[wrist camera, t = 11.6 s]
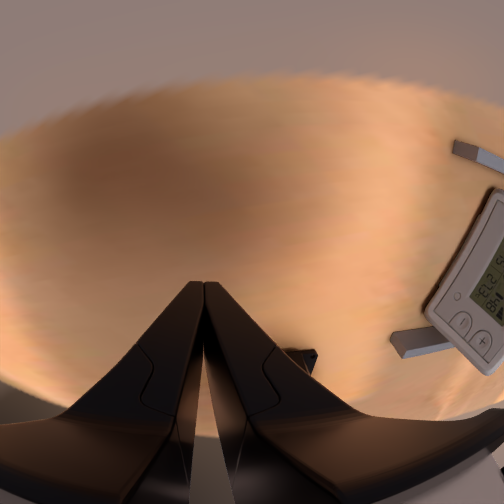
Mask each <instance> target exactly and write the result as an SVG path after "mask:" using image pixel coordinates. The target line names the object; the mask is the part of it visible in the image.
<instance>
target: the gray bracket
mask: <svg viewBox="0 0 504 504" xmlns="http://www.w3.org/2000/svg"><path fill="white" fill-rule="evenodd" d="M453 153H454V154H456V155H459V156H461V157H464V158H467V159H469V160H472V161H474V162H477V163H479V164H481V165H484V166H486V167H489V168H491V169H493V170H495V171H498V172H500V173H502V174H504V159H502V158H500V157H498V156H496V155H494V154H492V153H490V152H488V151H486V150H484V149H482V148H479V147H477V146H473V145H470V144H467V143H463V142H460V141H456V140H455V143H454V148H453ZM390 342H391V343H392V345H393V346H394V348H395V349H396V351H397V352H398V354H399V355H400V357H401V358H402V359H405V358H410V357H415V356H420V355H424V354H429V353H433V352H437V351H441V350H446V349H450V348H453V347H455V346H454V345H453V344H452V343H451V342H450V341H449V340H448V339H447V338H446V337H445V336H444V335H442V334H441V333H440V332H439V331H438V330H437V329H436V328H435V327H434V326H433V327H427V328H420V329H413V330H406V331H399V332H393V334H392V337H391V339H390Z"/></svg>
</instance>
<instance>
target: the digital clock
mask: <svg viewBox="0 0 504 504" xmlns="http://www.w3.org/2000/svg"><path fill="white" fill-rule="evenodd" d="M438 286H440V287H439V288H438V290H437V292H436V293H435V295H434V296H433V297H432V299H431V300H430V302H429V303H428V305H427V307H426V309H425V312H424V314H425V317H426V319H427V320H428V321H429V322H430V323H431V324H432V325H433V326H434V327H435V328H436V329H437V330H438V331H439V332H440V333H441V334H442V335H444V336H445V337H446V338H447V339H448V340H449V341H450V342H451V343H452V344H453V345H454V346H455V347H456V348H457V349H458V350H459V351H460V352H461V353H462V354H463V355H464V356H465V357H466V358H467V359H468V360H469V361H470V362H471V363H472V364H473V365H474V366H475V367H476V368H477V369H478V370H479V371H480V372H481V373H482V374H484V375H485V376H489V375H491V374H492V373H494V372H495V371H496V370H497V368H498V367H499V366H500V365H501V364H502V362H503V361H504V191H503V190H501V189H495V190H493V191H492V193H491V194H490V196H489V198H488V201H487V203H486V205H485V207H484V209H483V211H482V213H481V215H480V214H479V215H478V217H477V219H476V221H475V223H474V225H473V227H472V229H471V231H470V233H469V235H468V236H467V238H466V240H465V242H464V244H463V246H462V247H461V249H460V251H459V253H458V254H457V256H456V258H455V259H454V261H453V263H452V264H451V266H450V268H449V269H448V271H447V273H446V274H445V276H444V277H443V279H442V281H441V282H440V284H439V285H438Z"/></svg>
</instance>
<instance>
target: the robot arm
mask: <svg viewBox="0 0 504 504" xmlns="http://www.w3.org/2000/svg"><path fill="white" fill-rule="evenodd" d="M203 345H204V359H205V366H206V371H207V377H208V383H209V388H210V394H211V399H212V404H213V409H214V414H215V419H216V424H217V429H218V434H219V438H220V443H221V447H222V452H223V456H224V461H225V465H226V469H227V473H228V477H229V481H230V486H231V489H232V494H233V497H234V501H235V504H504V467H503V468H501V469H500V468H499V466H498V464H497V463H496V461H495V459H494V457H493V456H492V454H491V453H492V452H493V451H495V450H496V449H497V448H498V447H499V446H500V445H501V444H502V443H503V442H504V409H500V408H492V409H489V410H486V411H485V412H483V413H481V414H479V415H477V416H475V417H472V418H468V419H464V420H456V421H425V420H407V419H394V418H383V417H375V416H370V415H367V414H364V413H362V412H359V411H358V410H356V409H354V408H352V407H351V406H349V405H348V404H347V403H345V402H344V401H343V400H341V399H340V398H339V397H337V396H336V395H335V394H333V393H332V392H331V391H329V390H328V389H327V388H325V387H324V386H323V385H321V384H320V383H319V382H318V381H316V380H315V379H314V378H312V377H311V373H312V371H313V368H314V365H315V362H316V360H317V357H318V354H317V352H316V351H315V350H311V351H296V352H284V351H283V350H282V349H281V348H280V347H279V346H277V344H276V343H275V342H274V341H273V340H272V339H271V338H270V337H269V336H268V335H267V334H266V333H265V332H264V331H263V330H262V329H261V328H260V326H259V325H258V324H257V323H256V322H255V321H254V320H253V319H252V318H251V317H250V316H249V315H248V314H247V313H246V312H245V310H244V309H243V308H242V307H241V306H240V305H239V304H238V303H237V302H236V301H235V300H234V299H233V297H232V296H231V295H230V294H229V293H228V292H227V291H226V290H225V289H224V288H223V287H222V285H221V284H220V283H219V282H205V283H203V282H202V281H189V282H188V283H187V284H186V286H185V287H184V288H183V289H182V290H181V291H180V292H179V294H178V295H177V296H176V297H175V298H174V299H173V300H172V302H171V303H170V304H169V305H168V306H167V307H166V308H165V310H164V311H163V312H162V313H161V314H160V315H159V316H158V318H157V319H156V320H155V321H154V322H153V323H152V325H151V326H150V327H149V328H148V329H147V330H146V331H145V333H144V334H143V335H142V336H141V337H140V338H139V340H138V341H137V342H136V344H134V345H133V346H132V348H131V349H130V350H129V351H128V352H127V353H126V355H125V356H124V357H123V358H122V359H121V360H120V361H119V362H118V363H117V364H116V365H115V366H114V367H113V368H112V369H111V370H110V371H109V372H108V373H107V374H106V375H105V376H104V377H103V378H102V379H101V380H99V381H98V382H97V383H96V384H95V385H94V386H93V387H92V388H91V389H89V390H88V391H87V392H86V393H85V394H84V395H83V396H82V397H81V398H80V399H78V400H77V401H76V402H75V403H74V404H73V405H72V406H71V407H69V408H68V409H67V410H65V411H64V412H62V413H61V414H59V415H57V416H55V417H52V418H48V419H43V420H37V421H30V422H22V423H15V424H5V425H0V504H189V496H190V481H191V471H192V459H193V458H192V457H193V448H194V437H195V427H196V417H197V407H198V398H199V389H200V380H201V372H202V363H203Z"/></svg>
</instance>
